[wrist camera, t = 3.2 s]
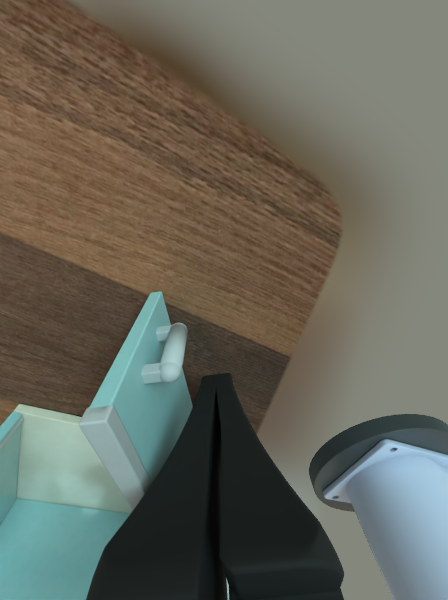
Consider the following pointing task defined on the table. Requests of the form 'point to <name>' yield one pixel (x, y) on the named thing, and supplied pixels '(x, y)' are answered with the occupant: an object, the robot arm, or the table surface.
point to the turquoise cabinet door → (141, 402)
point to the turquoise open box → (52, 507)
